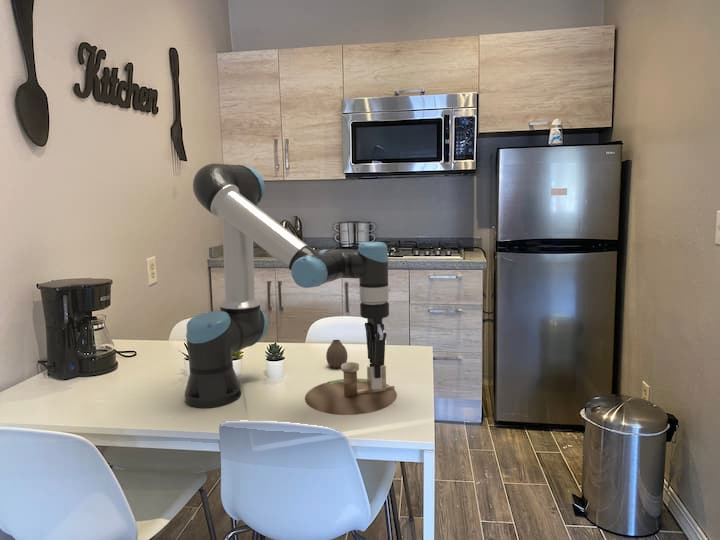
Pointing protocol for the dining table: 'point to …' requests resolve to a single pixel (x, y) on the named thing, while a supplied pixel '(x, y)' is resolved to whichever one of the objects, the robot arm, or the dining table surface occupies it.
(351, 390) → the peg lever
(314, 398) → the brown wooden flat disc
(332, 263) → the robot arm
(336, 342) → the vase
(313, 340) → the dining table surface
